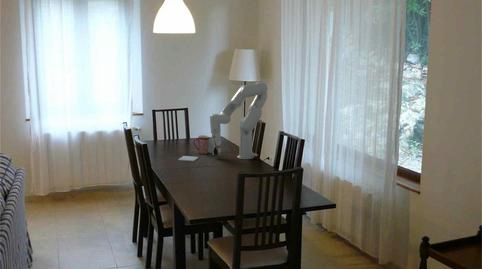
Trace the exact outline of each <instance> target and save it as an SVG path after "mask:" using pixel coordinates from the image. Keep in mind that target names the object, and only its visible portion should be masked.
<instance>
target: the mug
mask: <svg viewBox="0 0 482 269" xmlns="http://www.w3.org/2000/svg"><path fill="white" fill-rule="evenodd" d="M196 140H197V142H198V147H197V145H196V143H195V142H196ZM192 141H193V145H194V147H195V148H196V149H197V150H198V153H199V154H201V155H207V154H208V153H209V145H210V136H209V135H198V138H194V139H193V140H192Z"/></svg>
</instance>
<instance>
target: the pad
mask: <svg viewBox="0 0 482 269" xmlns="http://www.w3.org/2000/svg"><path fill="white" fill-rule="evenodd" d="M198 159H199V156H190V155H182V156H181V157H180V158H178V159H177V161H183V162H196V160H198Z"/></svg>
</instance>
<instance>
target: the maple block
mask: <svg viewBox="0 0 482 269" xmlns="http://www.w3.org/2000/svg"><path fill="white" fill-rule="evenodd" d="M221 148H222V147H217V150H218V155H217V156H221V154H222V149H221ZM212 156H215V155H214V150H213V149H212Z"/></svg>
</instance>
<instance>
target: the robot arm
mask: <svg viewBox="0 0 482 269" xmlns="http://www.w3.org/2000/svg"><path fill="white" fill-rule="evenodd" d="M251 97H252V98H253V97H254V99H253V101H252V102H251V103H250V105H249V106H248V108H247V115H246V116H243V117H241V118H240V120H239V124H238V125H239V149H238V150H239V154H238V155H237V157H236V158H237V159H240V160H252V159H254V158H255V157H258V154H257V153H255V152H253V131H254V129H255V127H256V126H257V124H258V122H259V121H260V119H261V117H262V115H263V110H262V109H263V107H264V106H265V104H266V101H267V99H268V85H267V83H265V82H262V81H257V82H255V84H251V85H247V84H243V85H241V86H240V88H238V90H237V91H236V93H235V94H234V96H233V97H232V98H231V99H230V101H229V102H228V103H227V104H226V105H225V107H224V108H223V109H222V110H221V112H220V113H219V114H218V113H212V114H210V115H209V124H210V125H209V126H210V134H211V145H212V147H213V148H212V151H213V150H214V155H213V156H219V155H218V150H217V147H220V145H221V144H222V136H221V124H223V125H227V124H229V123H230V122H231V119H232V118H231V116H232V114H233V113H234V112H235V111H236V110H237V109H239V108H241V106H242V105H243V104H244V102H245V101H246V100H247V98H251Z"/></svg>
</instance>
